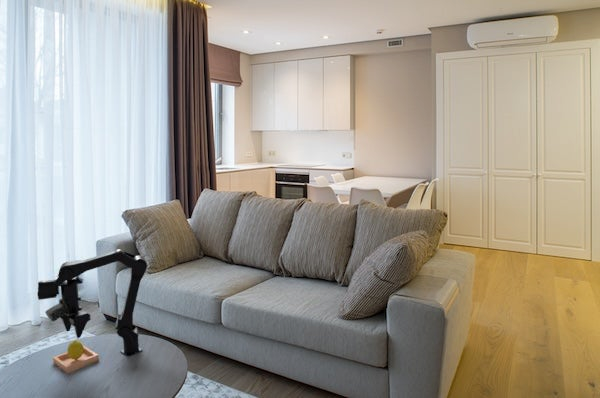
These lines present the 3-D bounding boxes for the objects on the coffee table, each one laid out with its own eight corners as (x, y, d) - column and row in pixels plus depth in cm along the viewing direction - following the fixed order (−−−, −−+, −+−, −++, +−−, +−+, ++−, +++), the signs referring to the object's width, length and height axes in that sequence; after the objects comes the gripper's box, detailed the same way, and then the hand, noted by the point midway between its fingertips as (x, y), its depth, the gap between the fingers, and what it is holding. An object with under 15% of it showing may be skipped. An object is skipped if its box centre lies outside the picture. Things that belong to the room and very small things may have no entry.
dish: (98, 360, 171) (98, 354, 171) (66, 373, 162) (66, 367, 162) (84, 351, 179) (84, 345, 179) (53, 363, 170) (52, 357, 169)
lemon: (81, 355, 174) (79, 336, 173) (86, 360, 170) (84, 340, 169) (66, 360, 170) (64, 340, 169) (71, 365, 167) (69, 345, 165)
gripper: (37, 296, 166) (41, 334, 169) (57, 307, 155) (61, 349, 157) (67, 288, 175) (71, 325, 177) (89, 298, 163) (92, 338, 165)
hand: (73, 334), depth 169 cm, fingers open, 9 cm apart
